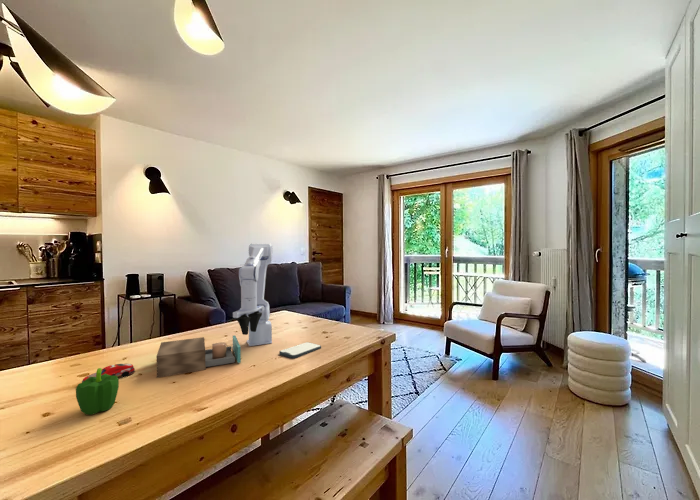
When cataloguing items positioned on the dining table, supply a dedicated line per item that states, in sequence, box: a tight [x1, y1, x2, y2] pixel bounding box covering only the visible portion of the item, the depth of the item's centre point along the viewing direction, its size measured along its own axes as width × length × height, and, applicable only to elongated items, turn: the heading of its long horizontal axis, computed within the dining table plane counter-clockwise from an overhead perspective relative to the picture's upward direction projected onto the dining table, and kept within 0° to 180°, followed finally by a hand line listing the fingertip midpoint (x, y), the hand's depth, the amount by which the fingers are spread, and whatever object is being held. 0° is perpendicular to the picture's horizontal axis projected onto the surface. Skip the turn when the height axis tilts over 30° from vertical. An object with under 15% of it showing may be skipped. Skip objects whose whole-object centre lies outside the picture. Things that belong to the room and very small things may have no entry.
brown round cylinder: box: [211, 342, 227, 359], centre depth 113 cm, size 5×5×5 cm
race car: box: [81, 363, 136, 383], centre depth 97 cm, size 13×5×4 cm, turn 142°
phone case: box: [278, 341, 322, 360], centre depth 122 cm, size 9×2×16 cm
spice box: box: [155, 336, 206, 378], centre depth 108 cm, size 14×16×7 cm
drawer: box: [205, 335, 242, 368], centre depth 113 cm, size 14×16×6 cm
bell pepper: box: [75, 367, 120, 416], centre depth 78 cm, size 8×8×10 cm
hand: (249, 332), depth 118 cm, fingers open, 4 cm apart
